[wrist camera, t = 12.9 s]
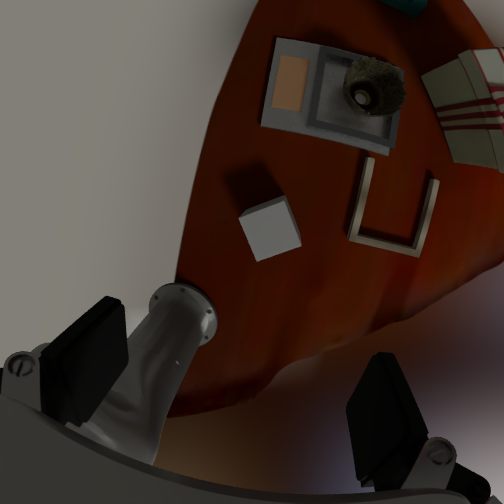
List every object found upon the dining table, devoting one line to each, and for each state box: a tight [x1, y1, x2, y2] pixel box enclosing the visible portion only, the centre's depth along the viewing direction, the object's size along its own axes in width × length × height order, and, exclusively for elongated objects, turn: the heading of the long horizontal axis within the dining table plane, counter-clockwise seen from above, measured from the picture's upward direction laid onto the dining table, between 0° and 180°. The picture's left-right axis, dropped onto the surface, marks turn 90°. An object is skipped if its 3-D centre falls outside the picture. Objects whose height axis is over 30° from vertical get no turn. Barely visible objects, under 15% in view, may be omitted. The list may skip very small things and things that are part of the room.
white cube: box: [239, 195, 301, 261], centre depth 37 cm, size 6×6×6 cm
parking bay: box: [347, 157, 440, 257], centre depth 36 cm, size 12×12×2 cm
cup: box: [343, 56, 407, 117], centre depth 28 cm, size 8×7×8 cm
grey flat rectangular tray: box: [261, 38, 404, 156], centre depth 31 cm, size 14×18×3 cm
